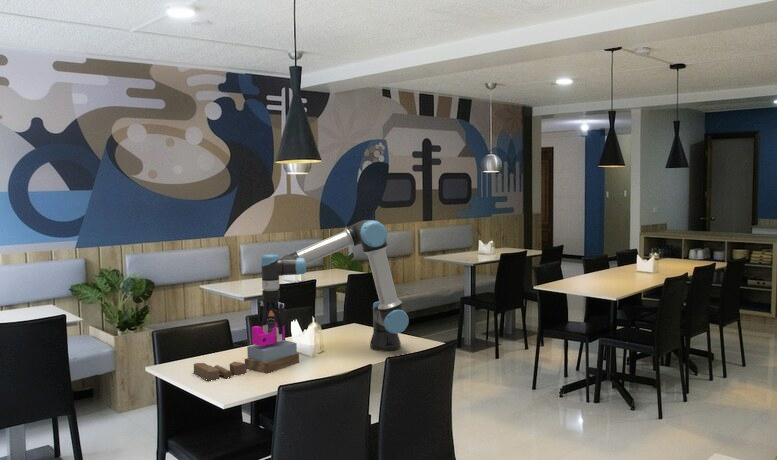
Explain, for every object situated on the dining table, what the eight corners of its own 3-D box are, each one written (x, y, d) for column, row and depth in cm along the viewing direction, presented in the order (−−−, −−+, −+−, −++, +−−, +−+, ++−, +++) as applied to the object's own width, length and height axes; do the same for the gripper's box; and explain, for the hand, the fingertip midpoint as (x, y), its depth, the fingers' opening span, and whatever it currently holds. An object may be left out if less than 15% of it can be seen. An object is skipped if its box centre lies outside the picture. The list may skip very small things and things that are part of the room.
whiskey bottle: (287, 348, 319) (285, 284, 317) (280, 353, 310) (278, 287, 308) (267, 347, 321) (265, 284, 319) (260, 352, 311) (258, 287, 309)
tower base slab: (299, 363, 293) (299, 352, 292) (268, 374, 276) (268, 363, 275) (276, 359, 300) (276, 349, 300) (245, 370, 283) (244, 359, 283)
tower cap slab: (296, 353, 290) (296, 343, 290) (263, 362, 277) (263, 350, 277) (280, 349, 299) (280, 339, 298) (247, 357, 285) (247, 346, 285)
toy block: (260, 346, 279) (260, 328, 278) (252, 343, 283) (251, 326, 282) (288, 339, 290) (287, 323, 289) (279, 337, 294) (279, 321, 293)
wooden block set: (209, 369, 264) (192, 361, 278) (210, 383, 265) (193, 374, 279) (247, 362, 275) (229, 354, 289) (247, 375, 275) (229, 366, 289)
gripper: (247, 289, 287) (249, 340, 289) (283, 292, 278) (285, 344, 279) (258, 286, 294) (260, 336, 295) (294, 289, 284) (295, 340, 286)
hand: (272, 340), depth 287 cm, fingers closed on toy block, 7 cm apart
